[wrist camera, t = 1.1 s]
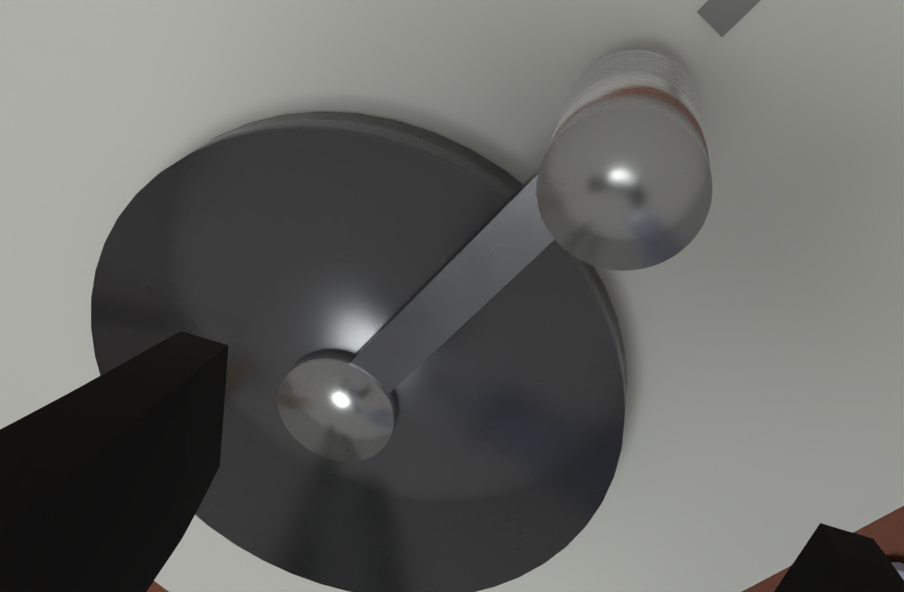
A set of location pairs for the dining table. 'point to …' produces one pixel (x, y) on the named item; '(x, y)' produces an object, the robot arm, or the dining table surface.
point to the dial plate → (520, 154)
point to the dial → (411, 324)
